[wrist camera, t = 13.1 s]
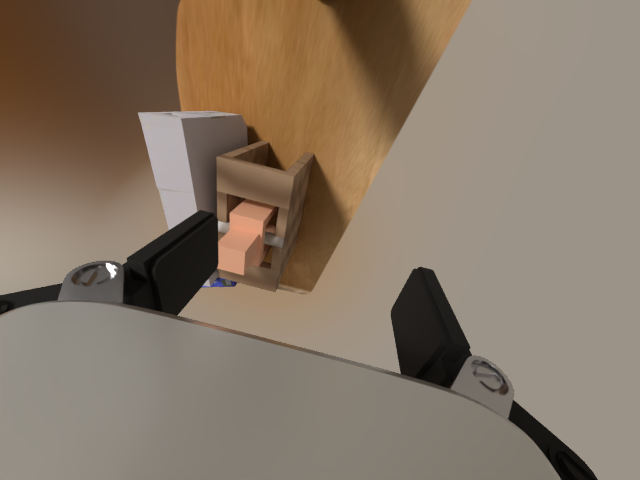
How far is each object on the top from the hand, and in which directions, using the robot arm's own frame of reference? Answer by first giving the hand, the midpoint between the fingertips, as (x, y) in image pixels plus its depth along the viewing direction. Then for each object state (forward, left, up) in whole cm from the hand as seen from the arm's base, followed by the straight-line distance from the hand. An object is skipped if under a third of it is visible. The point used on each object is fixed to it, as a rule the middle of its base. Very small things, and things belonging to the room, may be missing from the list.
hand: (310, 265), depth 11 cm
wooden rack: (+14, -11, -40) cm, 44 cm away
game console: (+13, -21, -41) cm, 48 cm away
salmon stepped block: (+14, -11, -32) cm, 36 cm away
